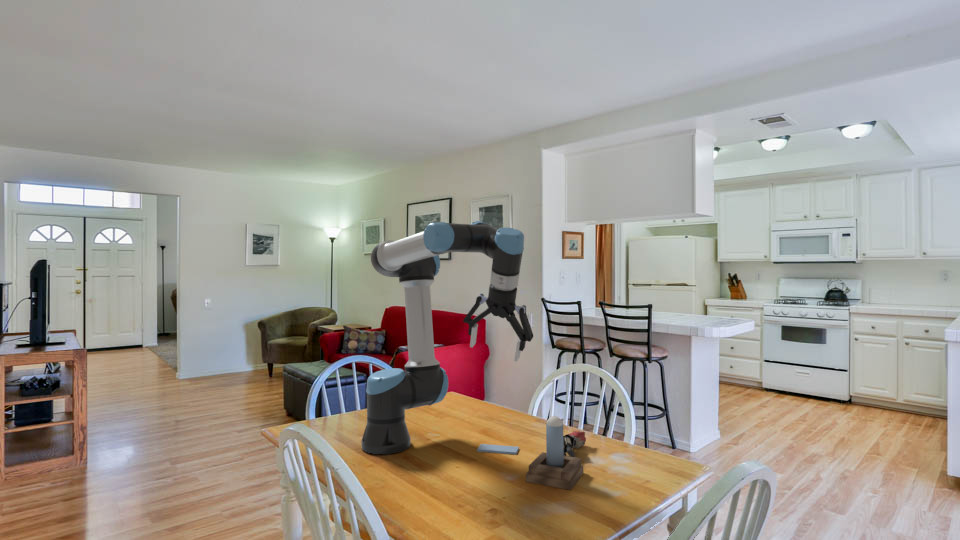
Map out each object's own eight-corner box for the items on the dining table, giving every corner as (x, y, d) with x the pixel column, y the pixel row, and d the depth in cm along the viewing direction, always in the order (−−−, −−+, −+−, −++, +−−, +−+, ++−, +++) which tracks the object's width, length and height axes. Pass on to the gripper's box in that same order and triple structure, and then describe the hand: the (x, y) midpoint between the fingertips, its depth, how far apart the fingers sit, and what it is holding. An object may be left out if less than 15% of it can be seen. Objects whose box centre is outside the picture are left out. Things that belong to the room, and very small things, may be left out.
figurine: (588, 445, 160) (588, 423, 160) (574, 465, 144) (573, 441, 144) (566, 442, 163) (566, 421, 163) (550, 461, 147) (550, 438, 147)
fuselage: (544, 471, 134) (543, 417, 134) (549, 465, 138) (549, 413, 138) (560, 474, 132) (560, 419, 132) (565, 468, 136) (565, 415, 136)
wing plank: (477, 453, 155) (477, 449, 155) (481, 447, 160) (481, 443, 160) (516, 456, 152) (516, 452, 152) (518, 450, 157) (518, 446, 157)
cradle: (525, 481, 133) (525, 466, 133) (541, 465, 143) (541, 451, 143) (570, 490, 127) (570, 474, 127) (583, 472, 138) (583, 457, 138)
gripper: (455, 278, 138) (449, 345, 146) (544, 302, 130) (532, 371, 139) (466, 269, 144) (460, 333, 153) (551, 291, 137) (539, 358, 145)
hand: (494, 352), depth 146 cm, fingers open, 13 cm apart
